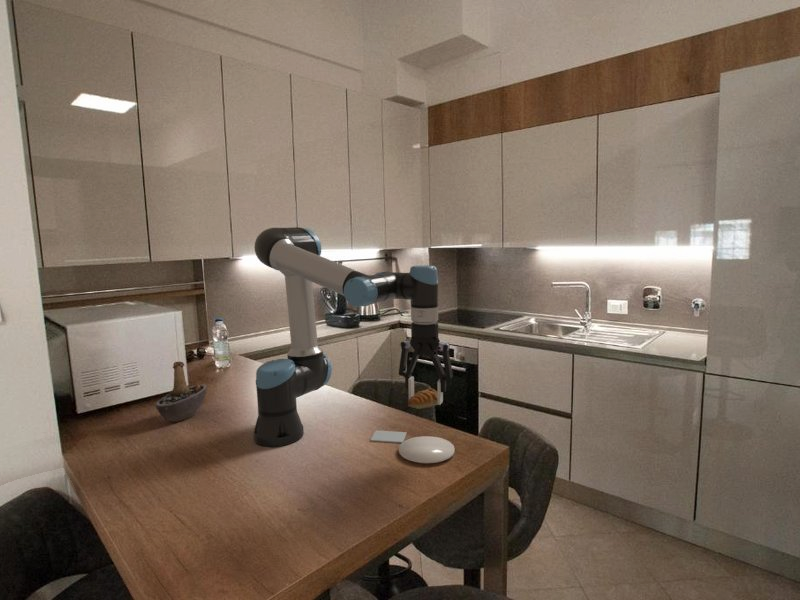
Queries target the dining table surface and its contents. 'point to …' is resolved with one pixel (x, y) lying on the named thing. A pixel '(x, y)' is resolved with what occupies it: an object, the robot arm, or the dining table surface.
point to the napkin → (388, 436)
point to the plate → (426, 449)
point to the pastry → (424, 399)
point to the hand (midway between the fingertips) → (425, 401)
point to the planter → (181, 398)
